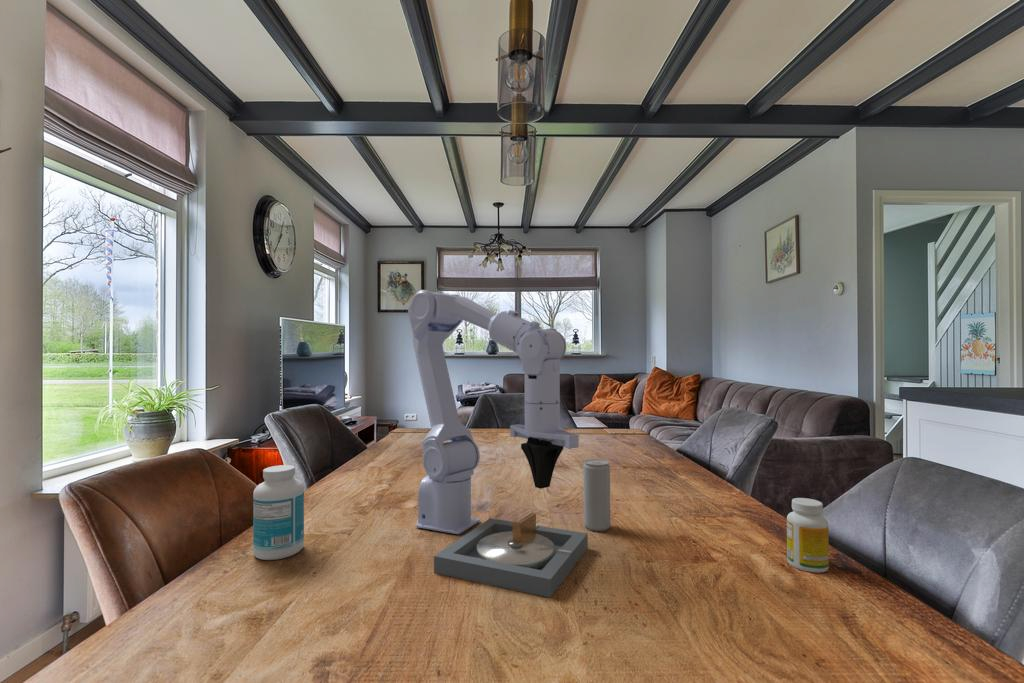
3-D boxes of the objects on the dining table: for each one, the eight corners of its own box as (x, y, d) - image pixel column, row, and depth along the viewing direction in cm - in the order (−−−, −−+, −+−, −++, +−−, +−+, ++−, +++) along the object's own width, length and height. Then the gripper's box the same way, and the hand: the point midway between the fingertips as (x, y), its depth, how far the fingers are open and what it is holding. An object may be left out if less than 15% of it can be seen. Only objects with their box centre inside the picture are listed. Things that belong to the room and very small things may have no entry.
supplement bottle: (779, 562, 74) (778, 499, 74) (801, 555, 76) (800, 494, 77) (814, 576, 69) (813, 508, 69) (837, 569, 71) (836, 503, 72)
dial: (532, 578, 67) (532, 541, 67) (461, 560, 73) (461, 527, 73) (566, 548, 77) (566, 516, 77) (501, 534, 83) (501, 505, 83)
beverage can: (610, 533, 86) (609, 465, 86) (583, 531, 87) (582, 464, 87) (610, 523, 91) (609, 459, 91) (584, 522, 92) (584, 458, 92)
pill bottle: (282, 540, 83) (283, 461, 83) (313, 548, 80) (314, 465, 80) (241, 556, 76) (243, 470, 77) (273, 565, 73) (275, 475, 73)
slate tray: (433, 572, 70) (434, 553, 71) (489, 531, 87) (489, 516, 87) (550, 597, 63) (550, 576, 63) (587, 548, 79) (587, 531, 80)
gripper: (592, 404, 75) (592, 492, 75) (532, 398, 87) (532, 474, 86) (559, 407, 71) (559, 500, 71) (500, 400, 82) (500, 480, 82)
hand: (542, 486), depth 78 cm, fingers closed
